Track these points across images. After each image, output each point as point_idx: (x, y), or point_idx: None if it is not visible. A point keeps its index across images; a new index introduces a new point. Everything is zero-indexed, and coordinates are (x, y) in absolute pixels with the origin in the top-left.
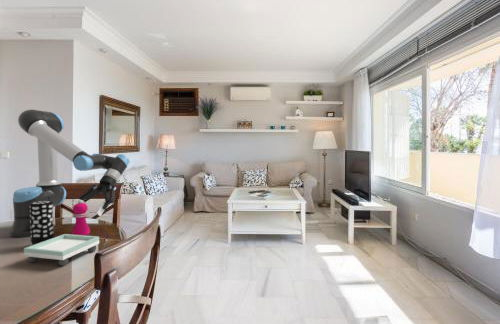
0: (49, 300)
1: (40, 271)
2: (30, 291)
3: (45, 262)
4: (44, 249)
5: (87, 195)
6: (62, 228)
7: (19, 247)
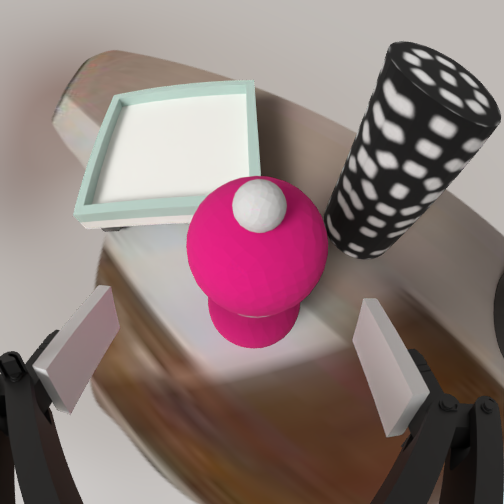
0: (83, 76)
1: None
2: (126, 72)
3: None
4: (181, 88)
5: (420, 472)
6: None
7: None
